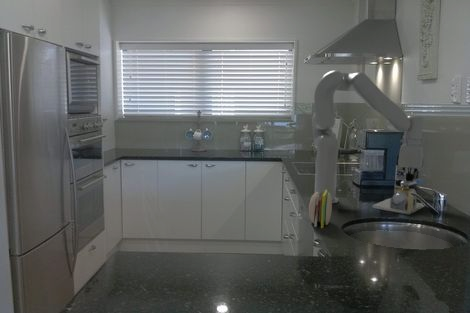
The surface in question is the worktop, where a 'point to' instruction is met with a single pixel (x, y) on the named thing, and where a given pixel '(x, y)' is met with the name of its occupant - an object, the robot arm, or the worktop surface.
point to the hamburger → (320, 208)
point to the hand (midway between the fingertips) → (409, 181)
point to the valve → (400, 202)
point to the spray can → (399, 176)
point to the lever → (411, 182)
